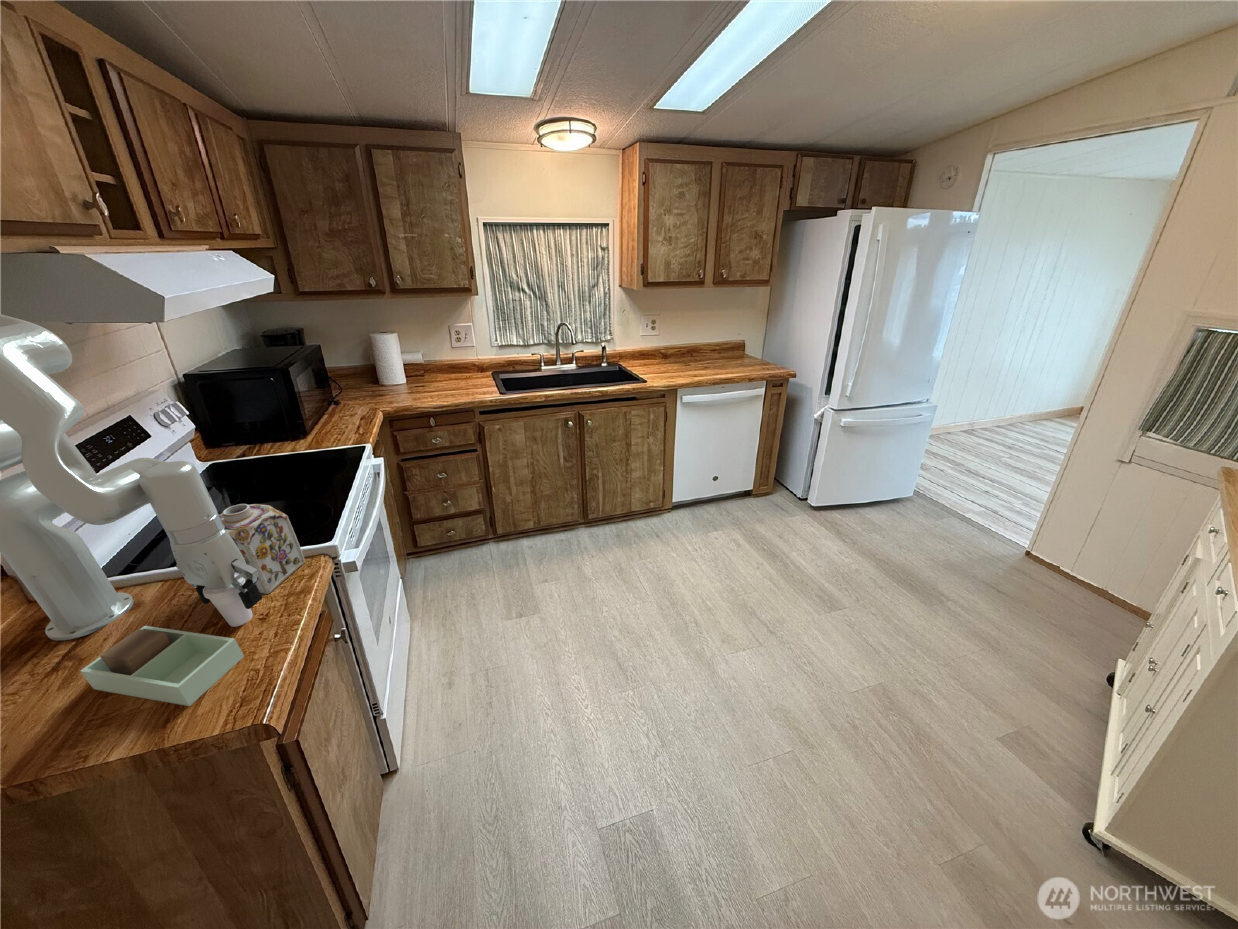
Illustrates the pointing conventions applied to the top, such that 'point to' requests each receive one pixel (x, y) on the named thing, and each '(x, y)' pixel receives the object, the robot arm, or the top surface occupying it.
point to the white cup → (229, 603)
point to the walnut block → (135, 651)
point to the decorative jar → (264, 542)
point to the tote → (172, 669)
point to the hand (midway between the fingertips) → (233, 601)
